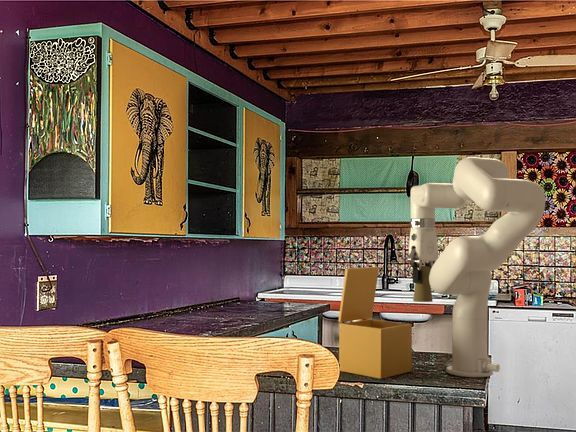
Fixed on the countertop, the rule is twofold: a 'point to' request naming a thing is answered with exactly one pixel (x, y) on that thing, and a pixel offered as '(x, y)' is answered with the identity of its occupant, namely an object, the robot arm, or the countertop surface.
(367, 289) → the lid
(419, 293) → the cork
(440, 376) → the countertop surface
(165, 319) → the countertop surface
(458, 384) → the countertop surface
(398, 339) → the chest
